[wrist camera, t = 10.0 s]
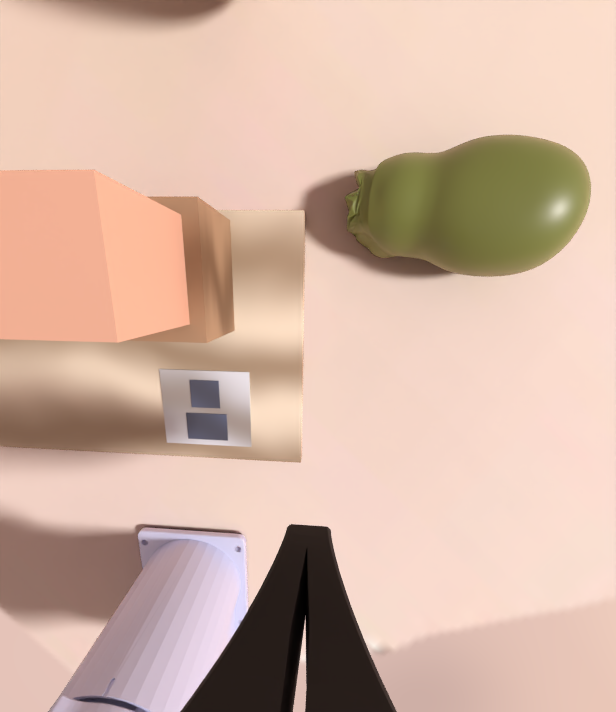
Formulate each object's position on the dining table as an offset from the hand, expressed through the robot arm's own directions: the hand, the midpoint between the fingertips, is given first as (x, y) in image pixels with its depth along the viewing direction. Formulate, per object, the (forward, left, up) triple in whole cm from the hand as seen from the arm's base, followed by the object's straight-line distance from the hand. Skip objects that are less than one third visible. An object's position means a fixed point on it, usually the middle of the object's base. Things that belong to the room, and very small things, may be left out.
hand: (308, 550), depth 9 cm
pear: (+12, -6, -10) cm, 17 cm away
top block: (+9, +8, -5) cm, 13 cm away
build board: (+5, +12, -9) cm, 16 cm away
